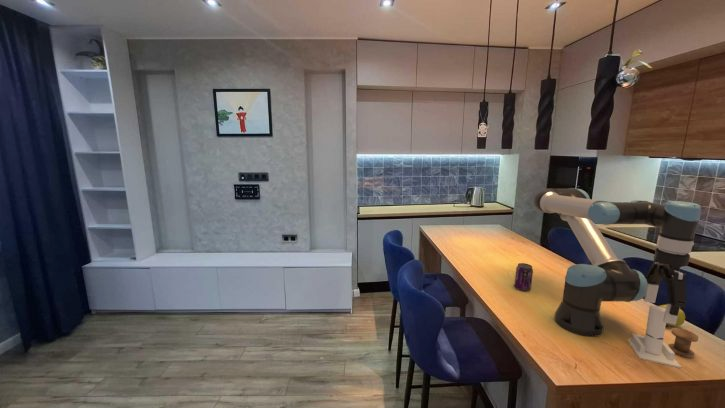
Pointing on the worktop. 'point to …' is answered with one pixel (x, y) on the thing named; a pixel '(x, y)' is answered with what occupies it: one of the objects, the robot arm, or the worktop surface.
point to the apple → (679, 320)
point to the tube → (655, 330)
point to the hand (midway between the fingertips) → (658, 311)
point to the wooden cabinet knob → (683, 342)
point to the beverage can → (523, 277)
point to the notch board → (639, 348)
